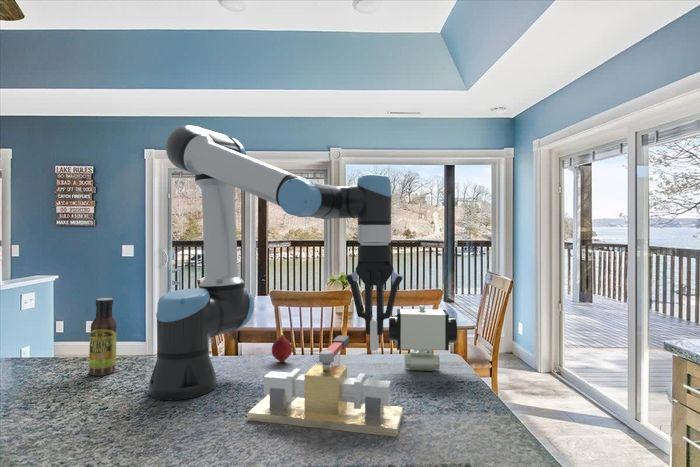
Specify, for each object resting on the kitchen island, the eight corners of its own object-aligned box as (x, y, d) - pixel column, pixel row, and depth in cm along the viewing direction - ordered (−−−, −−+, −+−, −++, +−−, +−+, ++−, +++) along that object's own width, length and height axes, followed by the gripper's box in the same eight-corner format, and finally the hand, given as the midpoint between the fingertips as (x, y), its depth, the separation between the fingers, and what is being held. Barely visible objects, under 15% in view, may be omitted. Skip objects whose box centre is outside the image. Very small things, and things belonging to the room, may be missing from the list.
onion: (282, 366, 118) (282, 338, 118) (267, 363, 122) (267, 335, 122) (295, 361, 123) (295, 333, 123) (281, 358, 126) (281, 331, 126)
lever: (331, 364, 84) (331, 355, 84) (317, 362, 85) (317, 354, 85) (349, 343, 100) (350, 335, 100) (337, 342, 100) (337, 335, 100)
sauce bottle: (85, 377, 109) (85, 301, 109) (93, 370, 115) (93, 297, 115) (112, 375, 111) (112, 300, 111) (119, 368, 117) (119, 296, 117)
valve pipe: (247, 420, 85) (247, 364, 85) (268, 400, 94) (268, 350, 94) (396, 436, 78) (396, 376, 78) (402, 414, 87) (402, 360, 87)
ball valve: (452, 365, 120) (452, 303, 119) (457, 375, 111) (457, 308, 111) (389, 363, 121) (389, 301, 121) (388, 373, 113) (388, 307, 113)
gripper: (405, 243, 97) (405, 346, 97) (350, 243, 100) (350, 343, 100) (401, 244, 90) (401, 355, 90) (342, 244, 93) (342, 351, 93)
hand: (374, 348), depth 95 cm, fingers closed
